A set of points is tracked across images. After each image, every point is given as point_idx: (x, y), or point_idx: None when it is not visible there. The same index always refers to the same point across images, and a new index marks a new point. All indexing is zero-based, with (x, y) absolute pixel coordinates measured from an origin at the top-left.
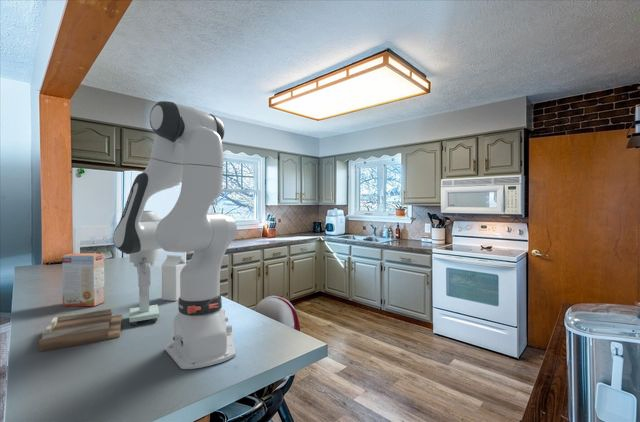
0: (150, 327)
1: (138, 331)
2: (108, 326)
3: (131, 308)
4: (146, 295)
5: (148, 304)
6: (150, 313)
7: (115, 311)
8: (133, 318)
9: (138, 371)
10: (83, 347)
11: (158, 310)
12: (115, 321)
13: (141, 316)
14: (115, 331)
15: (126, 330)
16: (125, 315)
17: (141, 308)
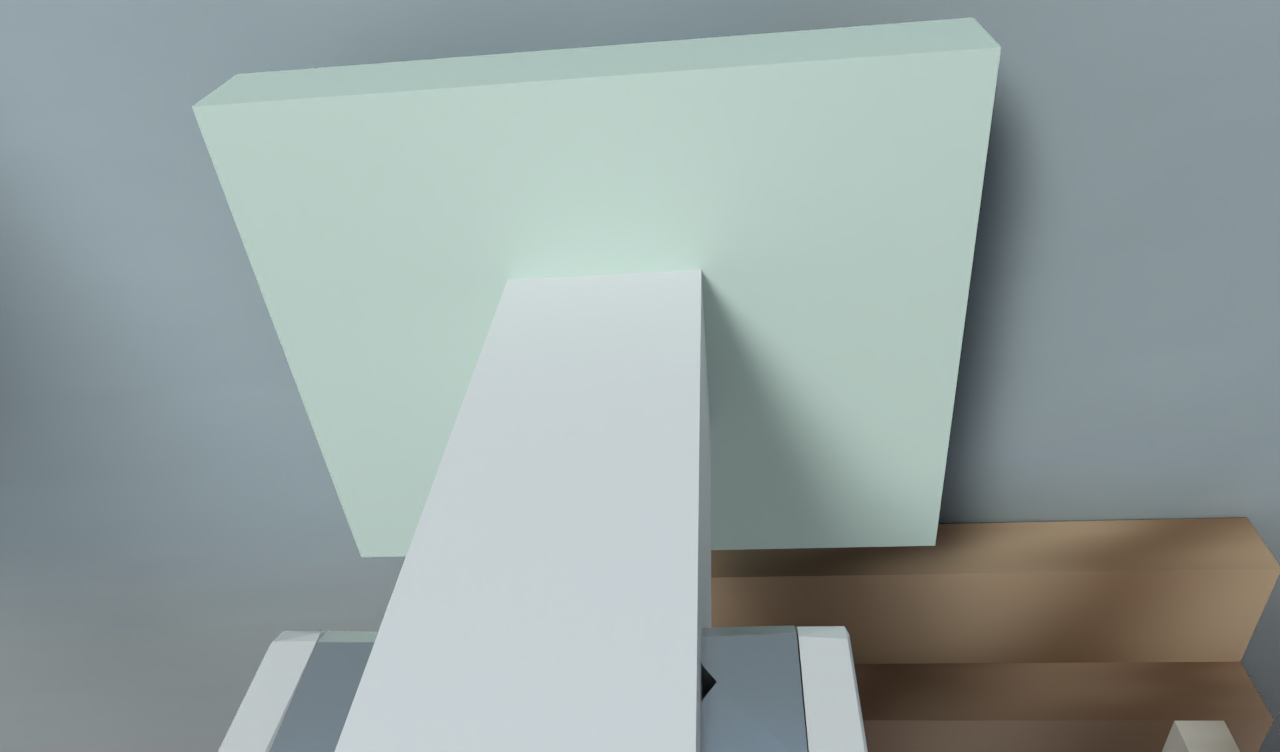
0: (1156, 153)
1: (1209, 323)
2: (1139, 721)
3: (367, 538)
4: (840, 638)
5: (700, 377)
6: (876, 242)
7: (96, 605)
8: (934, 483)
9: None
10: (1267, 747)
11: (738, 73)
12: (734, 624)
13: (951, 386)
14: (1200, 607)
15: (1024, 463)
16: (309, 504)
17: (708, 453)
